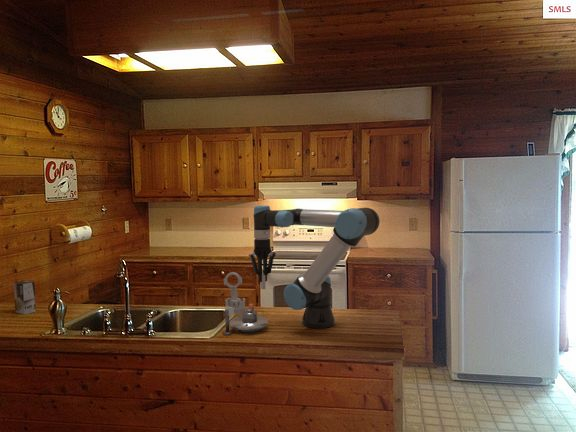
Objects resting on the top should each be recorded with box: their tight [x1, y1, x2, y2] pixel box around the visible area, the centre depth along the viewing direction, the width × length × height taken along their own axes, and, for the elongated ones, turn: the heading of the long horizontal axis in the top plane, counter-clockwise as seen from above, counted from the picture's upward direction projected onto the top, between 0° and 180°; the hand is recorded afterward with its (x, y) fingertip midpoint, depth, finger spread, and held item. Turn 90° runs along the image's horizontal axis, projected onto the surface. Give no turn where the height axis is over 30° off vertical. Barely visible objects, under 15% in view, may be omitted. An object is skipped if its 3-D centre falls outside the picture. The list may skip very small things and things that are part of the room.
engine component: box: [223, 271, 246, 315], centre depth 244 cm, size 11×20×10 cm
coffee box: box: [13, 280, 37, 315], centre depth 249 cm, size 9×6×16 cm
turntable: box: [229, 303, 269, 330], centre depth 213 cm, size 17×17×8 cm
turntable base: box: [235, 328, 263, 335], centre depth 213 cm, size 12×12×2 cm
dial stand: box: [222, 306, 235, 336], centre depth 207 cm, size 4×4×12 cm
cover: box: [241, 308, 258, 323], centre depth 213 cm, size 7×7×5 cm
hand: (262, 288), depth 222 cm, fingers closed
